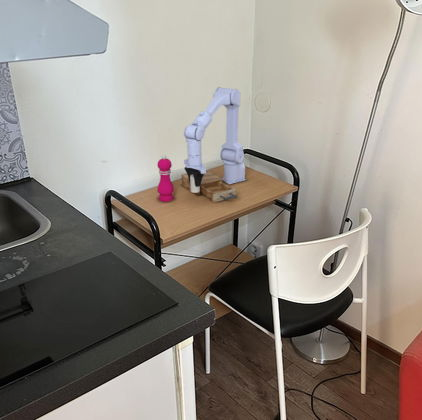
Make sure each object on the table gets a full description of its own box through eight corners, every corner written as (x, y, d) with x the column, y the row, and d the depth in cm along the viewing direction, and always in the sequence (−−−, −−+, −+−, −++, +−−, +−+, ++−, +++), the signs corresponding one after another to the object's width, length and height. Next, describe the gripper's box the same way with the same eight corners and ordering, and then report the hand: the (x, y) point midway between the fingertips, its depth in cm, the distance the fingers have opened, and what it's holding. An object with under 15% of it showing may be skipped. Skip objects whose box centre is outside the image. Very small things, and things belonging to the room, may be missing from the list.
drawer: (242, 199, 187) (242, 192, 186) (219, 206, 183) (220, 198, 181) (218, 186, 202) (218, 179, 201) (197, 191, 197) (197, 184, 196)
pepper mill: (161, 203, 190) (159, 159, 181) (155, 197, 196) (152, 154, 187) (177, 200, 192) (175, 156, 184) (170, 194, 198) (168, 151, 190)
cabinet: (221, 189, 201) (222, 178, 199) (198, 195, 196) (198, 184, 194) (204, 179, 213) (204, 169, 211) (181, 184, 208) (181, 174, 206)
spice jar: (196, 188, 192) (196, 173, 189) (201, 191, 189) (201, 176, 186) (188, 190, 191) (188, 175, 188) (193, 193, 187) (193, 178, 184)
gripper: (177, 151, 187) (178, 181, 193) (195, 160, 175) (195, 192, 181) (191, 148, 190) (192, 177, 196) (210, 157, 178) (210, 188, 184)
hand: (195, 184), depth 189 cm, fingers closed on spice jar, 4 cm apart
